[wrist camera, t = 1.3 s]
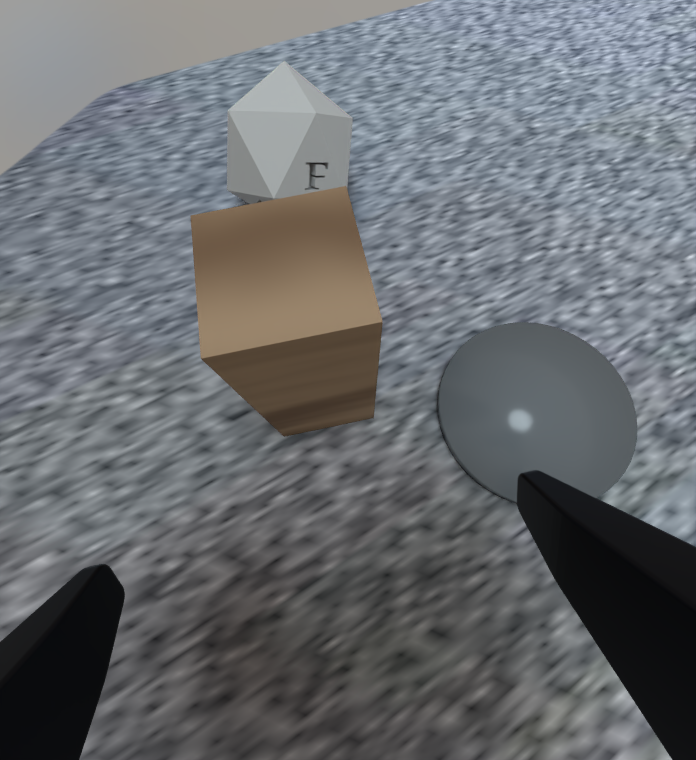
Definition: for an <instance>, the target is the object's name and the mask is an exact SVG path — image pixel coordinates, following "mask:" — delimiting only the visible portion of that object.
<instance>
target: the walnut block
mask: <svg viewBox="0 0 696 760" xmlns="http://www.w3.org/2000/svg"><path fill="white" fill-rule="evenodd" d="M191 227H192V241H193V255H194V269H195V283H196V296H197V310H198V324H199V338H200V352H201V359H202V360H203V361H204V362H205V363H206V364H207V365H208V366H209V367H211V368H212V369H213V370H214V371H215V372H216V373H217V374H218V375H219V376H220V377H221V378H222V379H223V380H224V381H225V382H227V383H228V384H229V385H230V386H231V387H232V388H233V389H234V390H235V391H236V392H237V393H238V394H239V395H240V396H241V397H242V398H244V399H245V400H246V401H247V402H248V403H249V404H250V405H251V406H252V407H253V408H254V409H255V410H256V411H257V412H258V413H260V414H261V415H262V416H263V417H264V418H265V419H266V420H267V421H268V422H269V423H270V424H271V425H272V426H273V427H274V428H276V429H277V430H278V431H279V432H280V433H281V434H282V435H283V436H284V437H285V436H289V435H294V434H299V433H304V432H308V431H313V430H318V429H323V428H328V427H332V426H337V425H342V424H347V423H351V422H356V421H361V420H366V419H370V418H373V417H374V406H375V396H376V385H377V375H378V364H379V353H380V343H381V332H382V318H381V314H380V311H379V307H378V303H377V299H376V296H375V292H374V288H373V284H372V281H371V277H370V273H369V269H368V266H367V262H366V258H365V255H364V251H363V247H362V243H361V240H360V236H359V232H358V228H357V225H356V221H355V217H354V213H353V210H352V206H351V202H350V198H349V195H348V191H347V187H346V186H343V187H338V188H332V189H327V190H322V191H317V192H312V193H306V194H301V195H296V196H291V197H285V198H280V199H275V200H270V201H265V202H259V203H254V204H249V205H244V206H238V207H233V208H228V209H223V210H217V211H212V212H207V213H202V214H197V215H191Z"/></svg>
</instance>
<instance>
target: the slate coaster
mask: <svg viewBox="0 0 696 760" xmlns="http://www.w3.org/2000/svg"><path fill="white" fill-rule="evenodd" d="M437 408H438V418H439V423H440V428H441V431H442V434H443V437H444V439H445V442H446V444H447V446H448V448H449V450H450V452H451V453H452V455H453V456H454V458H455V459H456V461H457V462H458V463H459V464H460V466H461V467H462V468H463V469H464V470H465V472H466V473H467V474H469V475H470V476H471V477H472V478H473V479H474V480H475V481H476V482H477V483H479V484H480V485H481V486H483V487H484V488H486V489H487V490H489V491H490V492H492V493H494V494H496V495H497V496H499V497H502V498H504V499H506V500H509V501H511V502H514V503H517V479H518V476H519V474H521V473H523V472H528V471H533V470H539V471H542V472H544V473H546V474H548V475H550V476H552V477H554V478H556V479H558V480H560V481H562V482H564V483H566V484H568V485H570V486H572V487H574V488H576V489H579V490H581V491H583V492H585V493H587V494H589V495H591V496H593V497H595V498H597V497H599V496H600V495H602V494H603V493H605V492H606V491H608V490H609V489H610V488H611V487H612V486H613V485H614V484H616V483H617V482H618V480H619V479H620V478H621V477H622V475H623V474H624V473H625V471H626V469H627V467H628V466H629V464H630V462H631V459H632V457H633V454H634V451H635V446H636V440H637V419H636V412H635V408H634V404H633V401H632V398H631V396H630V393H629V391H628V388H627V387H626V385H625V383H624V381H623V379H622V378H621V376H620V375H619V373H618V372H617V370H616V369H615V368H614V367H613V365H612V364H611V363H610V362H609V361H608V360H607V359H606V358H605V357H604V356H603V355H602V354H601V353H600V352H599V351H598V350H597V349H595V348H594V347H593V346H591V345H590V344H588V343H587V342H586V341H584V340H582V339H580V338H579V337H577V336H575V335H573V334H571V333H569V332H566V331H564V330H562V329H558V328H555V327H552V326H548V325H543V324H538V323H509V324H503V325H499V326H495V327H492V328H490V329H487V330H485V331H483V332H481V333H479V334H477V335H475V336H474V337H472V338H471V339H470V340H468V341H467V342H466V343H465V344H464V345H463V346H462V347H461V348H460V349H459V350H458V351H457V352H456V354H455V355H454V356H453V358H452V359H451V361H450V363H449V364H448V366H447V368H446V370H445V372H444V374H443V377H442V379H441V382H440V386H439V391H438V401H437Z"/></svg>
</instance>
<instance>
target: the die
mask: <svg viewBox="0 0 696 760" xmlns="http://www.w3.org/2000/svg"><path fill="white" fill-rule="evenodd" d="M352 121H353V118H352V117H351V116H349V115H348V114H347V113H346V112H345V111H343V110H342V109H341V108H340V107H339V106H337V105H336V104H335V103H334V102H333V101H331V100H330V99H329V98H328V97H327V96H325V95H324V94H323V93H322V92H321V91H320V90H318V89H317V88H316V87H315V86H314V85H312V84H311V83H310V82H309V81H308V80H306V79H305V78H304V77H303V76H302V75H300V74H299V73H298V72H297V71H296V70H295V69H293V68H292V67H291V66H290V65H289V64H287V63H286V62H285V61H283V62H282V63H281V64H280V65H279V66H278V67H277V68H275V69H274V70H273V71H272V72H271V73H270V74H269V75H268V76H266V77H265V78H264V79H263V80H262V81H261V82H260V83H258V84H257V85H256V86H255V87H254V88H253V89H252V90H251V91H249V92H248V93H247V94H246V95H245V96H244V97H243V98H241V99H240V100H239V101H238V102H237V103H236V104H235V105H234V106H232V107H231V108H230V109H229V110H228V146H227V190H228V191H229V192H231V193H232V194H234V195H236V196H237V197H239V198H240V199H242V200H244V201H245V202H247V203H249V204H254V203H259V202H265V201H270V200H275V199H280V198H285V197H291V196H296V195H301V194H306V193H312V192H317V191H322V190H327V189H332V188H338V187H343V186H346V187H347V183H348V171H349V158H350V146H351V133H352Z"/></svg>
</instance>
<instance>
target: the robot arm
mask: <svg viewBox="0 0 696 760" xmlns="http://www.w3.org/2000/svg"><path fill="white" fill-rule="evenodd" d="M517 506H518V509H519V512H520V514H521V516H522V518H523V520H524V521H525V523H526V525H527V527H528V529H529V531H530V533H531V535H532V537H533V539H534V541H535V543H536V544H537V546H538V548H539V550H540V552H541V554H542V556H543V558H544V560H545V562H546V564H547V566H548V568H549V569H550V571H551V573H552V575H553V577H554V578H555V580H556V582H557V583H558V585H559V587H560V588H561V590H562V591H563V593H564V594H565V596H566V598H567V599H568V601H569V602H570V604H571V605H572V607H573V608H574V610H575V611H576V613H577V614H578V616H579V617H580V619H581V621H582V622H583V624H584V625H585V627H586V628H587V630H588V631H589V633H590V634H591V636H592V637H593V639H594V640H595V642H596V644H597V645H598V647H599V648H600V650H601V651H602V653H603V654H604V656H605V657H606V659H607V660H608V662H609V663H610V665H611V666H612V668H613V670H614V671H615V673H616V674H617V676H618V677H619V679H620V680H621V682H622V683H623V685H624V686H625V688H626V689H627V691H628V693H629V694H630V696H631V697H632V699H633V700H634V702H635V703H636V705H637V706H638V708H639V709H640V711H641V712H642V714H643V716H644V717H645V719H646V720H647V722H648V723H649V725H650V726H651V728H652V729H653V731H654V732H655V734H656V735H657V737H658V738H659V740H660V742H661V743H662V745H663V746H664V748H665V749H666V751H667V752H668V754H669V755H670V757H671V758H672V760H696V547H695V546H693V545H691V544H689V543H687V542H685V541H683V540H681V539H679V538H677V537H675V536H673V535H670V534H668V533H666V532H664V531H662V530H660V529H658V528H656V527H654V526H652V525H650V524H648V523H646V522H644V521H642V520H640V519H638V518H636V517H634V516H632V515H630V514H628V513H626V512H623V511H621V510H619V509H617V508H615V507H613V506H611V505H609V504H607V503H605V502H603V501H601V500H599V499H597V498H595V497H593V496H591V495H589V494H587V493H585V492H583V491H581V490H579V489H576V488H574V487H572V486H570V485H568V484H566V483H564V482H562V481H560V480H558V479H556V478H554V477H552V476H550V475H548V474H546V473H544V472H542V471H539V470H533V471H528V472H523V473H521V474H519V476H518V479H517ZM124 597H125V593H124V588H123V586H122V585H121V583H120V582H119V580H118V579H117V577H116V576H115V574H114V573H113V571H112V570H111V568H110V567H109V566H108V565H106V564H99V565H95V566H90V567H87V568H84V569H82V570H81V571H80V572H79V573H78V574H76V575H75V576H74V577H73V578H72V579H71V580H70V581H69V582H67V583H66V584H65V585H64V586H63V587H62V588H61V589H60V590H58V591H57V592H56V593H55V594H54V595H53V596H52V597H50V598H49V599H48V600H47V601H46V602H45V603H44V604H43V605H41V606H40V607H39V608H38V609H37V610H36V611H35V612H34V613H32V614H31V615H30V616H29V617H28V618H27V619H26V620H25V621H23V622H22V623H21V624H20V625H19V626H18V627H17V628H15V629H14V630H13V631H12V632H11V633H10V634H9V635H8V636H6V637H5V638H4V639H3V640H2V641H1V642H0V760H79V758H80V755H81V752H82V749H83V746H84V743H85V740H86V737H87V734H88V731H89V728H90V725H91V722H92V719H93V716H94V713H95V710H96V707H97V704H98V701H99V698H100V695H101V691H102V688H103V685H104V682H105V678H106V674H107V670H108V667H109V662H110V658H111V654H112V650H113V646H114V641H115V637H116V633H117V629H118V624H119V620H120V616H121V612H122V608H123V603H124Z"/></svg>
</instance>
